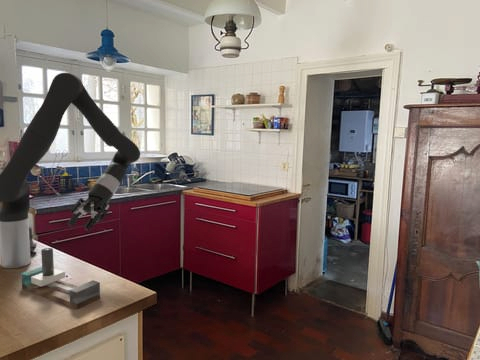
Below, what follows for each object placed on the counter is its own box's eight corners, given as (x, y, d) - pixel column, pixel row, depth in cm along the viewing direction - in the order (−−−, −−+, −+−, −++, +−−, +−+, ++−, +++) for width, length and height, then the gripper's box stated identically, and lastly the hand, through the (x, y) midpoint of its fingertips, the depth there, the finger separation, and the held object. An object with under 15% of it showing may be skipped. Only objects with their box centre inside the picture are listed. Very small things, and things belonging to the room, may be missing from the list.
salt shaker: (29, 257, 142) (27, 227, 141) (16, 255, 143) (14, 226, 142) (40, 252, 148) (39, 223, 146) (28, 250, 149) (26, 222, 147)
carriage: (31, 282, 112) (29, 251, 110) (55, 274, 119) (53, 244, 117) (41, 286, 110) (39, 254, 108) (65, 277, 116) (63, 247, 115)
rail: (22, 288, 115) (21, 273, 114) (46, 279, 122) (45, 265, 121) (77, 309, 102) (76, 292, 102) (100, 298, 109) (99, 282, 109)
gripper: (84, 180, 131) (57, 218, 123) (112, 184, 125) (85, 224, 117) (97, 192, 137) (71, 229, 129) (124, 197, 130) (99, 236, 122)
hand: (78, 227), depth 123 cm, fingers open, 8 cm apart
